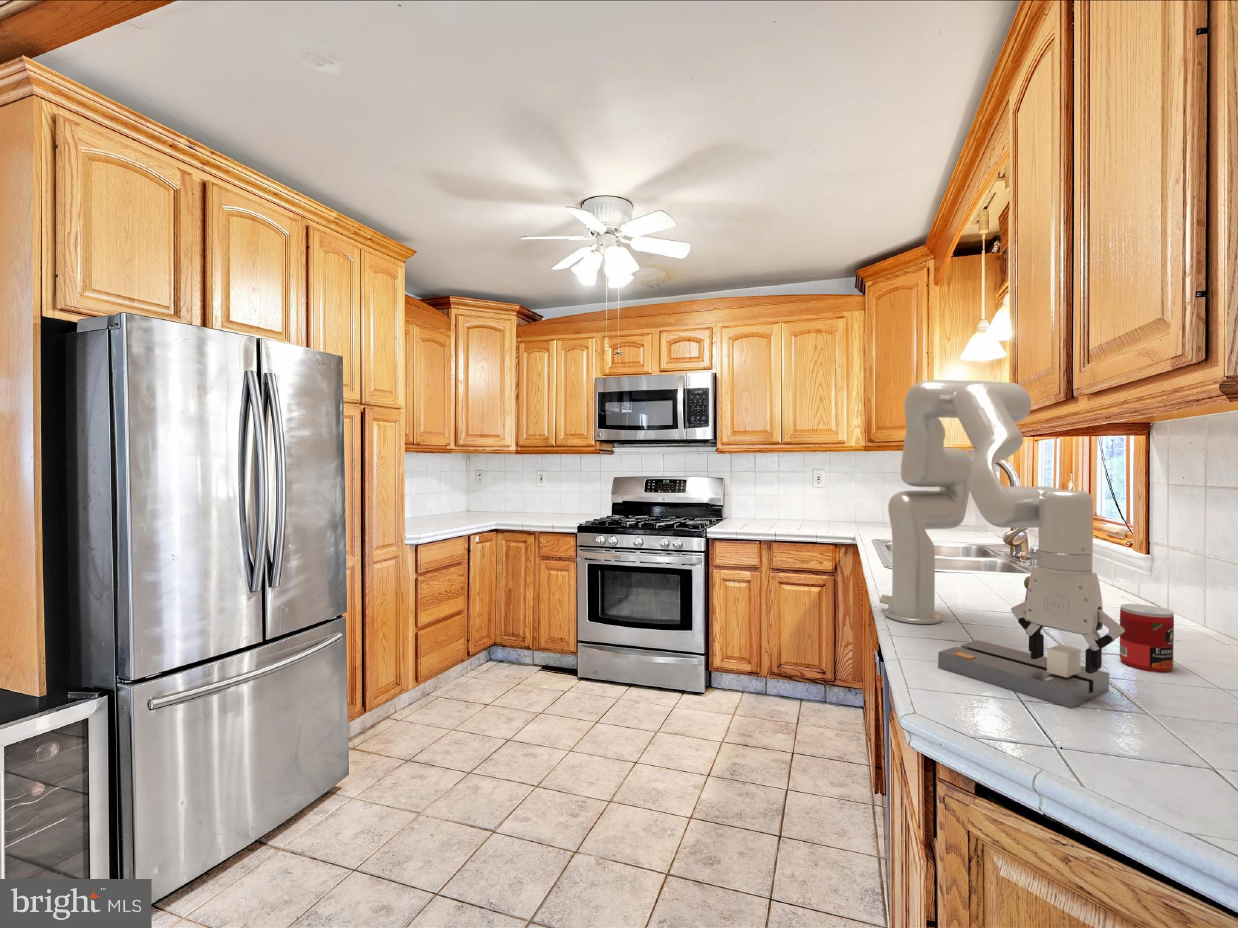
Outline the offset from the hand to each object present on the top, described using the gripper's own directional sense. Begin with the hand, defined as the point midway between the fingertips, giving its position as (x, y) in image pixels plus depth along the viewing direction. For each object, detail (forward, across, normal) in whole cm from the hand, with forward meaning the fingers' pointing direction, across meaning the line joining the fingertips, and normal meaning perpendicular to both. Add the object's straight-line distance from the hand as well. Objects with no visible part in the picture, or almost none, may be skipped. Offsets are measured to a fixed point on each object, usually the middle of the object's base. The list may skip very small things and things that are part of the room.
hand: (1063, 663), depth 105 cm
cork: (+5, -24, +44) cm, 50 cm away
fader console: (+5, -7, 0) cm, 8 cm away
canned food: (+5, +2, +28) cm, 29 cm away
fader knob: (+3, 0, 0) cm, 3 cm away
